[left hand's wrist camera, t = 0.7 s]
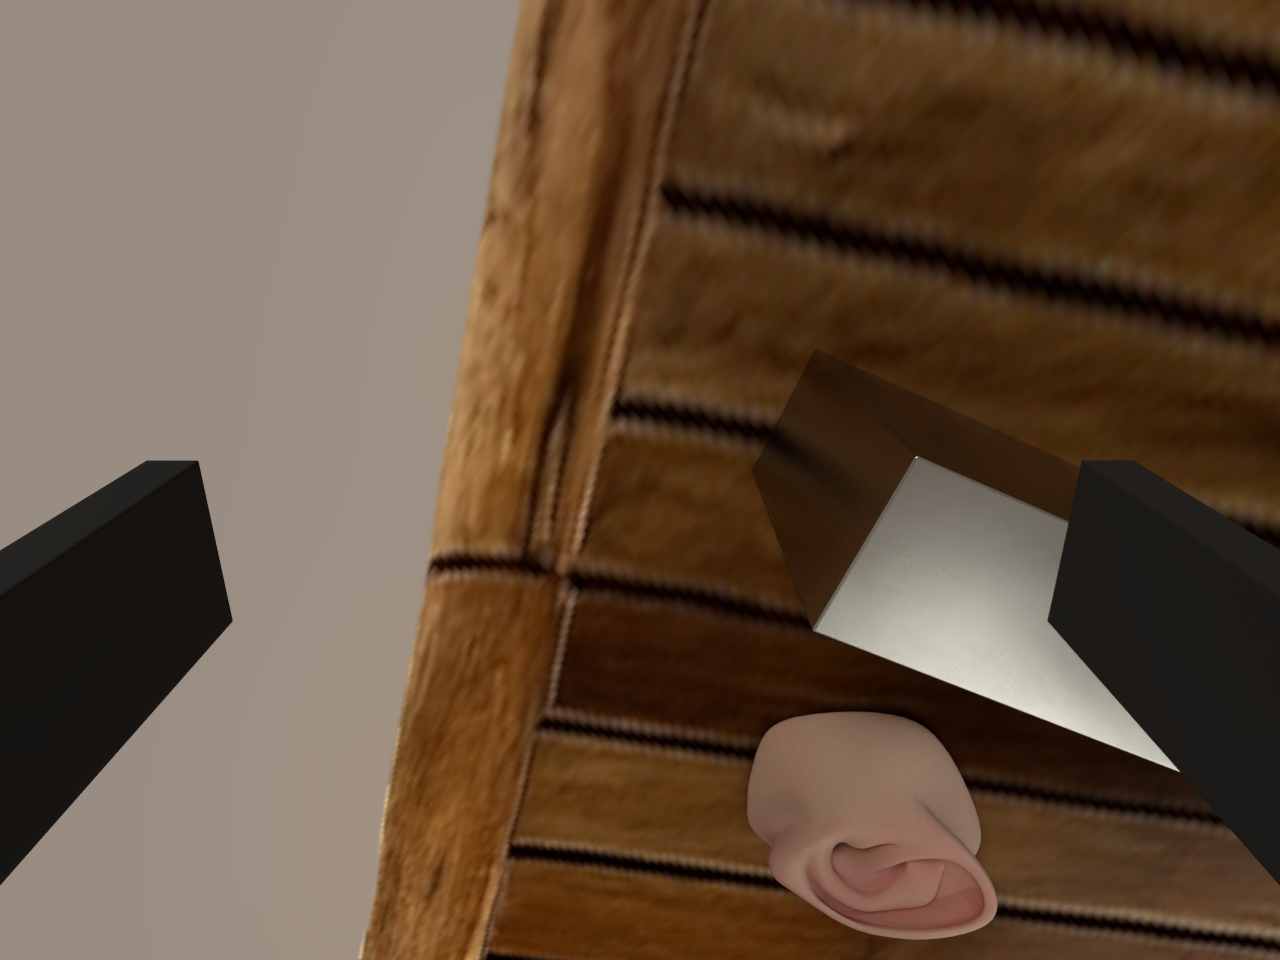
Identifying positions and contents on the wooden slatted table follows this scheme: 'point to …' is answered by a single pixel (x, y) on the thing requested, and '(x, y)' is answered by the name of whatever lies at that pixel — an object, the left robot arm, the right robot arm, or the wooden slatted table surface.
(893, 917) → the anatomical model
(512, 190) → the wooden slatted table surface
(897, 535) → the box
